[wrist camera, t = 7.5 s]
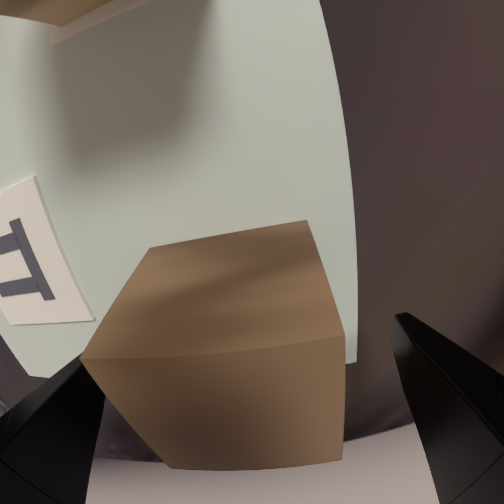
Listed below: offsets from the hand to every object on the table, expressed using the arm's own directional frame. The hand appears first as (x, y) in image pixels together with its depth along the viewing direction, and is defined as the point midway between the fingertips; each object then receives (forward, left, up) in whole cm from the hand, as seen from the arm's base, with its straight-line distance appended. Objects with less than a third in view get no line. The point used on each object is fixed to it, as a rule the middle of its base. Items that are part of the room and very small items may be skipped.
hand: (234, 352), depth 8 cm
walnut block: (0, 0, -2) cm, 2 cm away
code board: (+5, -6, -3) cm, 8 cm away
